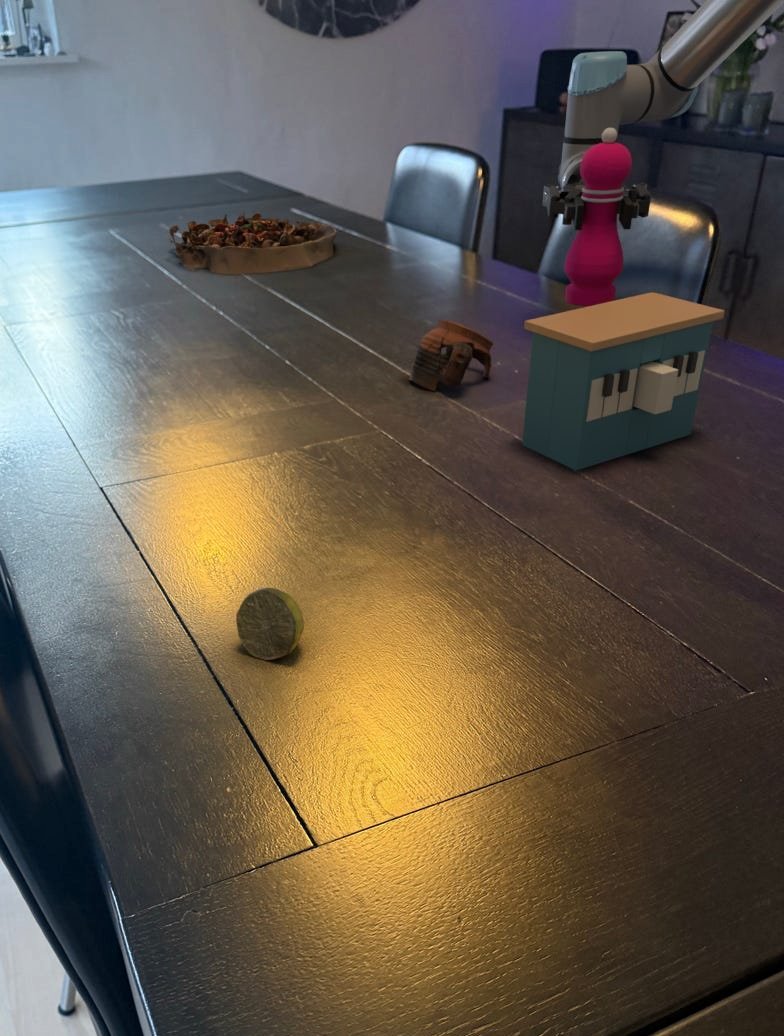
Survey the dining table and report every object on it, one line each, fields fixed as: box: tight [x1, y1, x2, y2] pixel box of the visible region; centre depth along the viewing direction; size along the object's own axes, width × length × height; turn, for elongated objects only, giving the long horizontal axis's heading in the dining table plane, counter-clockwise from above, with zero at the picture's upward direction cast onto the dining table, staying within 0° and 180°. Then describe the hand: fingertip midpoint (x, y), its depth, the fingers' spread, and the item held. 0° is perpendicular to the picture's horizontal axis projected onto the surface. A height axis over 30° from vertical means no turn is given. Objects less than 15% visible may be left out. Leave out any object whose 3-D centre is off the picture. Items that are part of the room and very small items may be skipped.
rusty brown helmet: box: [408, 319, 494, 392], centre depth 112 cm, size 12×10×8 cm
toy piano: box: [521, 291, 725, 471], centre depth 94 cm, size 9×17×13 cm, turn 120°
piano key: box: [633, 361, 678, 414], centre depth 90 cm, size 4×2×4 cm, turn 30°
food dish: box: [165, 212, 338, 275], centre depth 179 cm, size 35×33×8 cm
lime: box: [235, 587, 305, 661], centre depth 66 cm, size 4×5×5 cm
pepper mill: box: [564, 128, 633, 307], centre depth 116 cm, size 7×7×20 cm
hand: (604, 217), depth 111 cm, fingers closed on pepper mill, 5 cm apart
